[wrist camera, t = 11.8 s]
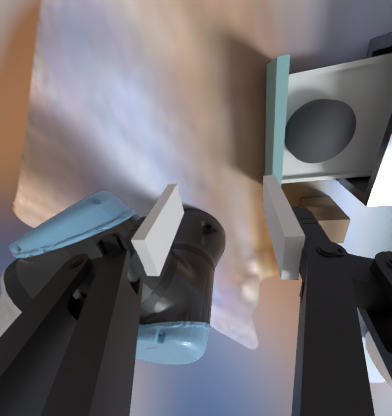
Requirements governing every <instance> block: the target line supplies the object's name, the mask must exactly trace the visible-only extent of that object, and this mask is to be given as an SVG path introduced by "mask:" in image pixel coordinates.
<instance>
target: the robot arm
mask: <svg viewBox="0 0 392 416" xmlns="http://www.w3.org/2000/svg"><path fill="white" fill-rule="evenodd" d="M263 211H264V215H265V218H266V222H267V226H268V230H269V234H270V238H271V242H272V246H273V249H274V253H275V257H276V261H277V265H278V269H279V273H280V277H281V279H289V280H298V277H299V273H300V275H301V278H302V286H301V292H300V297H301V298H300V313H299V325H298V337H297V350H296V365H295V378H294V390H293V403H292V416H375V414H374V408H373V402H372V396H371V391H370V384H369V378H368V372H367V366H366V360H365V354H364V348H363V342H362V336H361V330H360V324H359V318H358V312H357V307H358V309H359V311H360V313H361V315H362V318H363V320H364V322H365V324H366V326H367V328H368V330H369V332H370V335H371V337H372V339H373V341H374V343H375V345H376V347H377V349H378V352H379V354H380V356H381V358H382V360H383V362H384V364H385V366H386V369H387V371H388V373H389V375H390V377H391V379H392V252H390V251H387V252H380V253H378V254H376V256H375V258H374V259H371V258H366V257H361V256H356V255H352V254H349V253H347V252H346V250H345V249H344V248H343V247H342V246H340V245H338V244H336V243H334V242H331V241H330V239H329V238H328V236H327V235H326V233H325V231H324V230H323V228H322V227H321V225H320V224H319V222H318V221H317V219H316V218H315V216H314V215H313V213H312V212H311V211H310V210H308V209H307V208H305V207H298V208H291V206H290V204H289V202H288V200H287V198H286V196H285V194H284V192H283V190H282V188H281V186H280V184H279V182H278V180H277V178H276V176H275V175H266V176H263ZM224 249H225V232H224V229H223V227H222V226H221V224H220V223H219V222H218V221H217V220H216V219H215V218H214V217H212V216H211V215H209V214H207V213H205V212H203V211H199V210H195V209H183V206H182V202H181V198H180V194H179V190H178V185H177V184H171V185H168V186H167V187H166V189H165V190H164V192H163V193H162V195H161V196H160V198H159V199H158V201H157V202H156V204H155V205H154V206H153V208H152V209H151V211H150V212H149V214H148V215H147V216H144V217H142V218H140V217H139V216H138V215H137V214H136V212H135V211H134V210H133V209H130V208H129V207H128V206H127V205H126V204H125V203H124V202H123V201H122V200H120V199H119V198H118V197H117V196H116V195H115V194H113V193H111V192H108V191H99V192H96V193H94V194H92V195H90V196H88V197H86V198H84V199H82V200H81V201H79V202H77V203H75V204H74V205H72V206H70V207H69V208H67V209H65V210H64V211H62V212H60V213H59V214H57V215H55V216H54V217H52V218H50V219H49V220H47V221H45V222H44V223H42V224H40V225H39V226H37V227H36V228H34V229H33V230H31V231H29V232H28V233H26V234H25V235H23V236H22V237H21V238H19V239H18V240H17V241H15V242H13V243H12V244H11V245H10V246H9V250H10V251H11V252H12V255H13V256H15V257H16V258H17V259H16V260H15V261H14V262H12V263H11V264H10V265H9V266H8V267H7V268H6V269H5V270H4V271H3V273H2V277H1V289H2V291H1V292H0V416H129V414H130V405H131V395H132V386H133V376H134V366H135V358H136V359H140V360H143V361H148V362H153V363H159V364H171V365H172V364H173V365H176V364H187V363H192V362H194V361H196V360H198V359H199V358H200V357H201V356H202V355H203V353H204V352H205V349H206V344H207V338H208V332H209V329H210V316H211V304H212V292H213V280H214V270H215V267H216V266H217V264H218V262H219V260H220V258H221V256H222V254H223V252H224Z"/></svg>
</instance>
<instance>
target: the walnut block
mask: <svg viewBox="0 0 392 416" xmlns="http://www.w3.org/2000/svg"><path fill="white" fill-rule="evenodd" d="M300 207H305V208H307V209H308V210H310V211H311V212H312V213H313V215H314V216H315V218H316V219H317V221H318V222H319V224H320V225H321V227H322V228H323V230H324V231H325V233H326V235H327V236H328V238H329V239H330V241H331V242H334V243H343V242H344V239H345V236H346V232H347V229H348V226H349V223H350V218H349V217H348V216H347V215H346V214H345V213H344V212H343V211H342V210H341V208H340V207H339V206H338V205H337V204H336V203H335V202H334V201H333V200H332V199H331V198H330V196H323V197H308V198H301V200H300Z"/></svg>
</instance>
